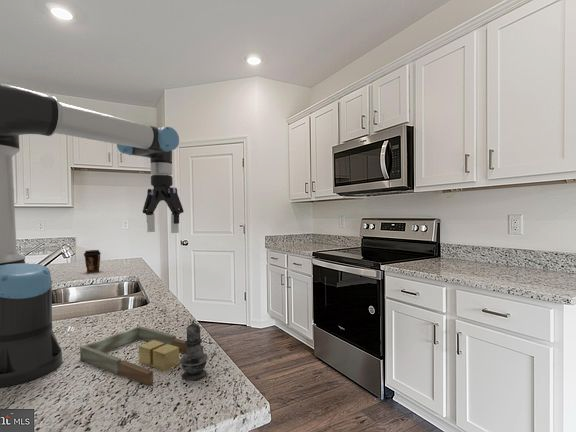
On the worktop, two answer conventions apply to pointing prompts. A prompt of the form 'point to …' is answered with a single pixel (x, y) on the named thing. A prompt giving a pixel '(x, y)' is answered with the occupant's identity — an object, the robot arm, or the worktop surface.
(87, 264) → the coffee cup
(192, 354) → the salt shaker
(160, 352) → the tan wooden cube
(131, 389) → the worktop surface
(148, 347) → the chip
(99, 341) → the frame
